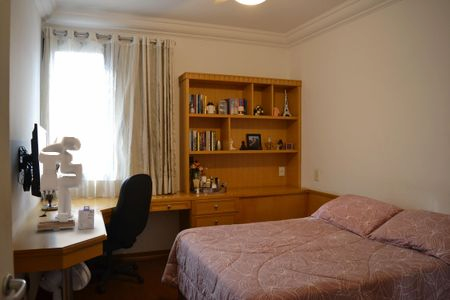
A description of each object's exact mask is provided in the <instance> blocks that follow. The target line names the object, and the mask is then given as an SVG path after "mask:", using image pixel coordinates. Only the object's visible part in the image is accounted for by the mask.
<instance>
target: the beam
mask: <svg viewBox="0 0 450 300" xmlns="http://www.w3.org/2000/svg"><path fill="white" fill-rule="evenodd" d="M36 227H37V228H36V229H37V230H45V229H46V230H47V229H52V232H60V231H61V228H74V227H76V219H68V222H62V223H60V220H51V221H50V220H49V221H48V220H47V221H37V224H36Z"/></svg>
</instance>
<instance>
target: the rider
mask: <svg viewBox="0 0 450 300" xmlns="http://www.w3.org/2000/svg"><path fill="white" fill-rule="evenodd" d="M68 220H69V217H68V213H60V218H59V221H60V223H62V222H68Z"/></svg>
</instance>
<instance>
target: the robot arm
mask: <svg viewBox="0 0 450 300" xmlns="http://www.w3.org/2000/svg"><path fill="white" fill-rule="evenodd" d="M81 143H82V142H81V141H80V139H79V138H78V137H77V136H76V135H70V134H60V135H58V136H57V137H56V138H55V140H54V142H53V143H52V144H50V145H47V146H45V147H43V148H42V149H41V150H40V153H38V158H37V159H38V162H39V163H41V164H42V174H41V175H40V183H39V184H40V185H39V188H40V189H39V192H40V193H41V192H42V193H44V194H45V195H46V198H45V199H46V200H47V202H51V200H52V199H53V197H52V195H53V194H54V193H55V192H58V193H57V194H58V195H57V196H58V197H57V198H58V199H57V214H56V215H55V218H57V219H60V213H68V218H72V217H74V213H72V204H73V203H72V199H73V198H72V197H73V196H72V195H73V193H72V192H71V190H70V189H80V188H81V187H82V185H83V164H82V163H81V162H79V161H78V162H77V161H73V157H74V156H73V154H72V152H71V151H73V152H75V151H79V150H80V149H81V145H82V144H81ZM57 164H60V165H59V170H58V169H57ZM59 171H60V174H63V175H61V176H59V177H58V173H59ZM49 191H50V192H49Z"/></svg>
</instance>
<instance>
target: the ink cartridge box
mask: <svg viewBox="0 0 450 300" xmlns="http://www.w3.org/2000/svg"><path fill="white" fill-rule="evenodd" d="M77 218H78V219H77V229H78V230H84V229H85V230H87V229H94V227H95V226H94V225H95V209H93V208H92V209H91V208H90V206H89V205H88V206H86V205H85V206H83V209H78V215H77Z"/></svg>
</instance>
